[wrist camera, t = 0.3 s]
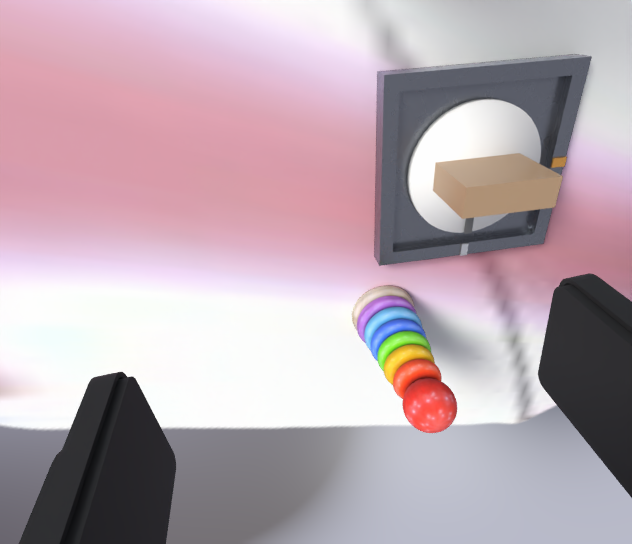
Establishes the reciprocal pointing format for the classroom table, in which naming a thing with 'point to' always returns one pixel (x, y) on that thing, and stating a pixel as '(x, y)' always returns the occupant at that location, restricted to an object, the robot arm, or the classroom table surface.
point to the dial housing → (433, 101)
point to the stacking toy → (405, 356)
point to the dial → (479, 167)
